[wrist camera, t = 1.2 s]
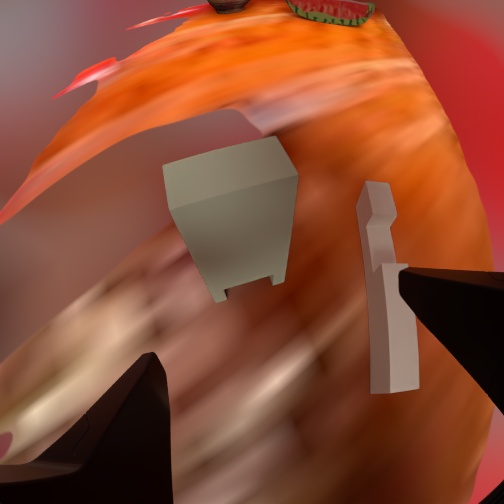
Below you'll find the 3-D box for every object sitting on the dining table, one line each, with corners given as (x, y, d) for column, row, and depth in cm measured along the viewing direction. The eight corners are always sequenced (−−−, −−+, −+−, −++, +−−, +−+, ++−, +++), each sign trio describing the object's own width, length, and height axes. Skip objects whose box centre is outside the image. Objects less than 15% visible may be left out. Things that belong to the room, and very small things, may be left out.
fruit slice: (369, 28, 60) (373, 2, 52) (371, 32, 58) (375, 5, 49) (287, 14, 64) (287, -11, 56) (284, 18, 62) (284, -9, 53)
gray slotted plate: (272, 252, 25) (275, 135, 14) (284, 282, 24) (298, 174, 12) (207, 271, 25) (162, 165, 13) (215, 303, 23) (169, 209, 12)
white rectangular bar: (396, 390, 19) (419, 388, 15) (370, 393, 19) (390, 393, 15) (376, 208, 27) (388, 183, 24) (355, 206, 27) (365, 180, 24)
